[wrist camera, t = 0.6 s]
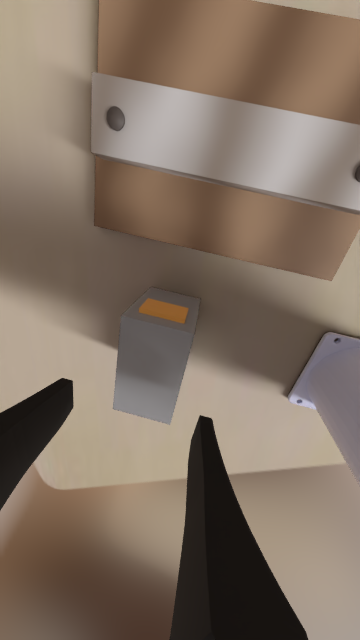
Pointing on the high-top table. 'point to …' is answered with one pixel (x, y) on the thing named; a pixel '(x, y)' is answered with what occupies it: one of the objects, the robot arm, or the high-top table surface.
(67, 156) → the high-top table surface
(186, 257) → the high-top table surface
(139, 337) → the block
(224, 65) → the rail board
